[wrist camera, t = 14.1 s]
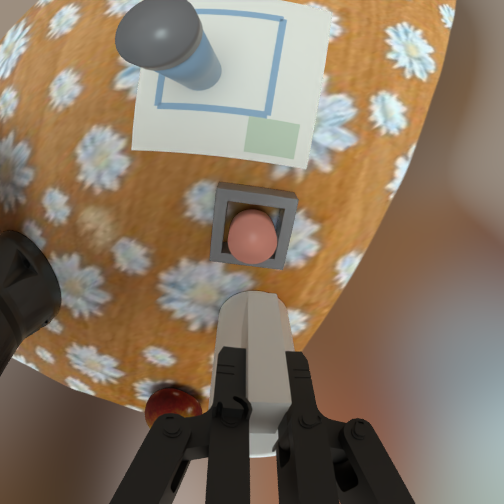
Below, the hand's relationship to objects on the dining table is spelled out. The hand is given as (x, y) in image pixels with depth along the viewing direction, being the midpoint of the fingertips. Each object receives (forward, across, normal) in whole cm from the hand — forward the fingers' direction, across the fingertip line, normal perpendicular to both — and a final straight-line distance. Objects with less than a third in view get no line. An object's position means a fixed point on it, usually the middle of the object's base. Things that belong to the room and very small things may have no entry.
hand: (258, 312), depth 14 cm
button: (+11, 0, 0) cm, 11 cm away
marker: (+13, -7, +14) cm, 20 cm away
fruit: (+14, -8, -32) cm, 36 cm away
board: (+13, -4, +14) cm, 20 cm away
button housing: (+13, 0, 0) cm, 13 cm away
